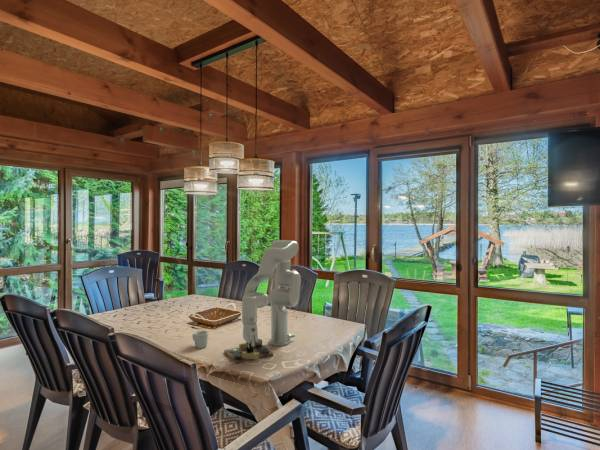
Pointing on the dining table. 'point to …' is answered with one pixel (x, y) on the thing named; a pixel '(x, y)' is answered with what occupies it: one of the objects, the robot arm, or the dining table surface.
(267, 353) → the base plate
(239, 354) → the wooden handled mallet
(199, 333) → the cup
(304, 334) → the dining table surface
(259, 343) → the ball knob lever
